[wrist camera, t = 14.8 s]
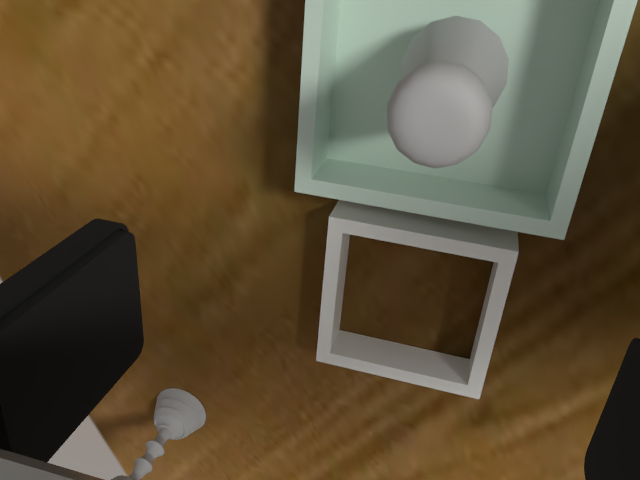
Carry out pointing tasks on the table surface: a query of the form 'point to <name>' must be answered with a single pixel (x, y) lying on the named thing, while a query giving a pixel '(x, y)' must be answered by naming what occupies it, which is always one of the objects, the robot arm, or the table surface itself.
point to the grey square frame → (399, 357)
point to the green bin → (507, 115)
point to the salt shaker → (447, 91)
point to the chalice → (169, 426)
